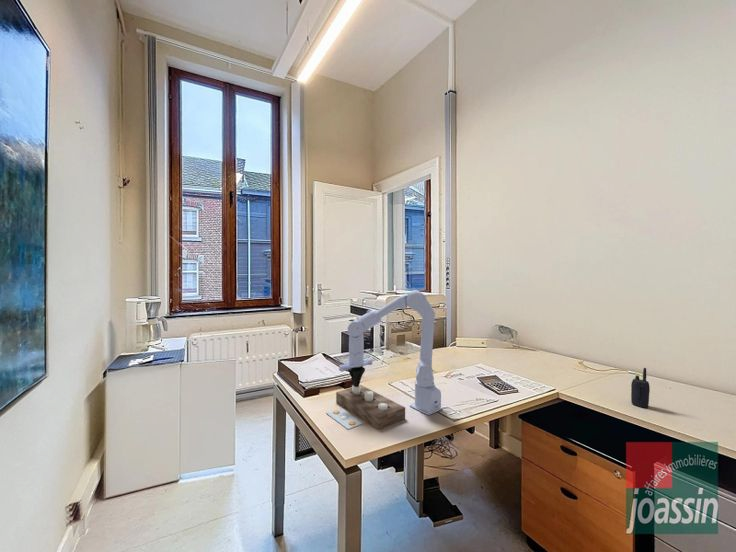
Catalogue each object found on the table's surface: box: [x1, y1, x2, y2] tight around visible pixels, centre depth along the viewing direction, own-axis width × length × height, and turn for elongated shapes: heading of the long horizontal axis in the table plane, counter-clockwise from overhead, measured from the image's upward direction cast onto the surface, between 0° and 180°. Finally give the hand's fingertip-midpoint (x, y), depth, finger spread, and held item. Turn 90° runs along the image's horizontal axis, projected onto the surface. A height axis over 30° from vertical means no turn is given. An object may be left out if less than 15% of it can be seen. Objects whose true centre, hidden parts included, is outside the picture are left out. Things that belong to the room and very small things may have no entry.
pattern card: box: [326, 408, 364, 430], centre depth 111 cm, size 14×6×1 cm, turn 38°
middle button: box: [365, 390, 373, 402], centre depth 118 cm, size 3×3×4 cm
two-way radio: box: [630, 367, 651, 409], centre depth 122 cm, size 6×4×15 cm
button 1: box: [351, 384, 361, 395], centre depth 124 cm, size 3×3×4 cm
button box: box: [335, 384, 406, 430], centre depth 118 cm, size 26×12×4 cm, turn 38°
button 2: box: [378, 403, 387, 411], centre depth 112 cm, size 3×3×4 cm
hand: (356, 385), depth 124 cm, fingers closed
